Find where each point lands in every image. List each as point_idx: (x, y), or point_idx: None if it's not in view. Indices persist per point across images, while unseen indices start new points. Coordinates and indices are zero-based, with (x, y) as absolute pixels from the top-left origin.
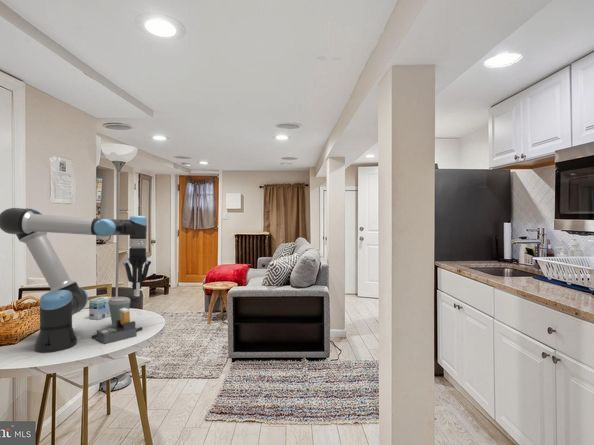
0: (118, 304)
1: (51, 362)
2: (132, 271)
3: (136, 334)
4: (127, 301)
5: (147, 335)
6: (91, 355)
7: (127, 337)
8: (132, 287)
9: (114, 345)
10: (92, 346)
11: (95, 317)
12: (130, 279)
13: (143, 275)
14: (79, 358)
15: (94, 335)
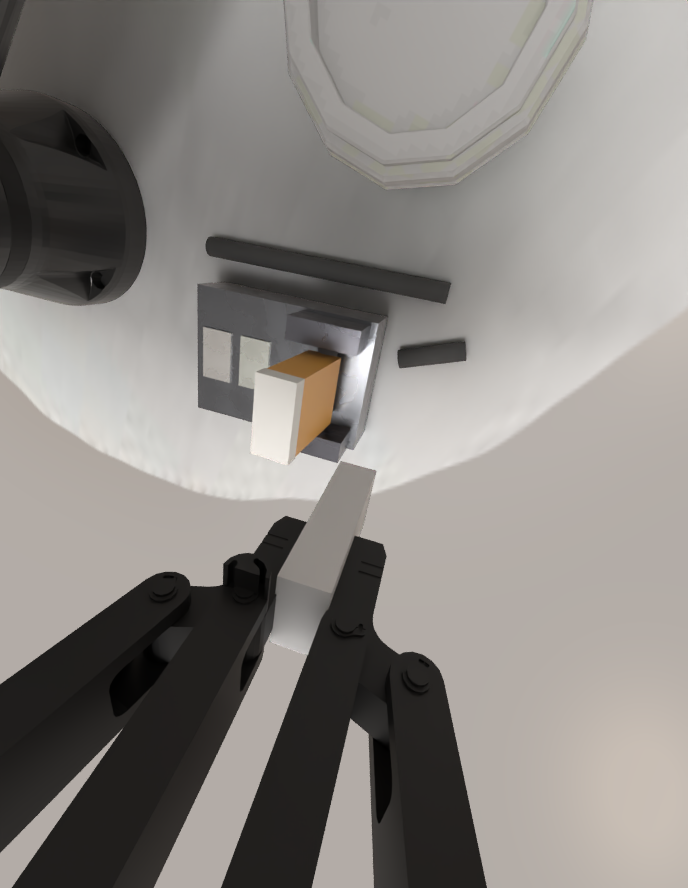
0: (345, 163)
1: (48, 403)
2: (51, 839)
3: (361, 435)
4: (449, 177)
5: (403, 465)
6: (150, 461)
7: None
8: (268, 533)
9: (241, 445)
10: (179, 373)
11: None
12: (129, 669)
13: (417, 792)
14: (116, 451)
15: (216, 252)
